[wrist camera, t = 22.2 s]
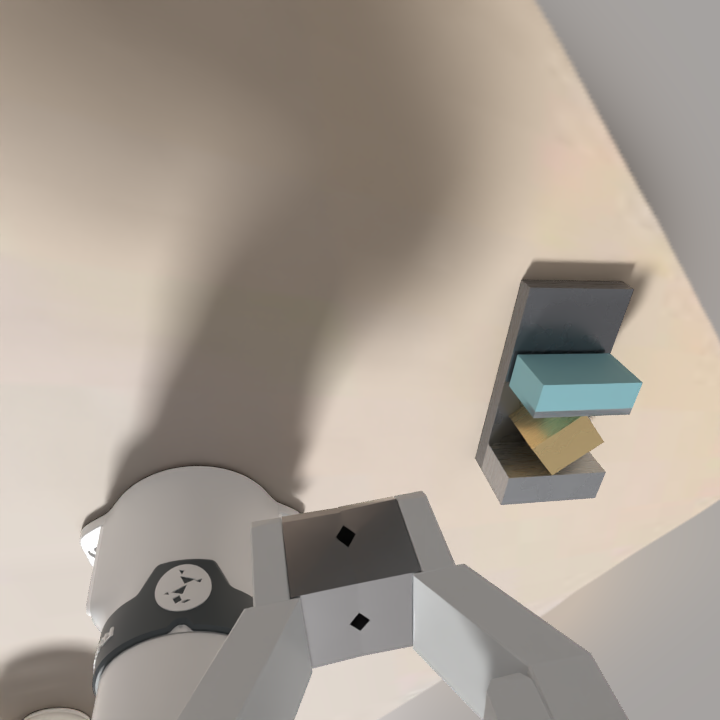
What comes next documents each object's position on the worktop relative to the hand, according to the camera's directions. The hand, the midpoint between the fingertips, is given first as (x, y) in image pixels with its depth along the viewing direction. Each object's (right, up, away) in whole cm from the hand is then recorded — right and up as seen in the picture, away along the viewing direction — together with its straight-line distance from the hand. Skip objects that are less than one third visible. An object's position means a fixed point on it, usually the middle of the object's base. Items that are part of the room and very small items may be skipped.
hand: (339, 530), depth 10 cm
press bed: (+16, +2, +40) cm, 43 cm away
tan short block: (+16, -2, +40) cm, 43 cm away
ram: (+17, +2, +37) cm, 41 cm away
